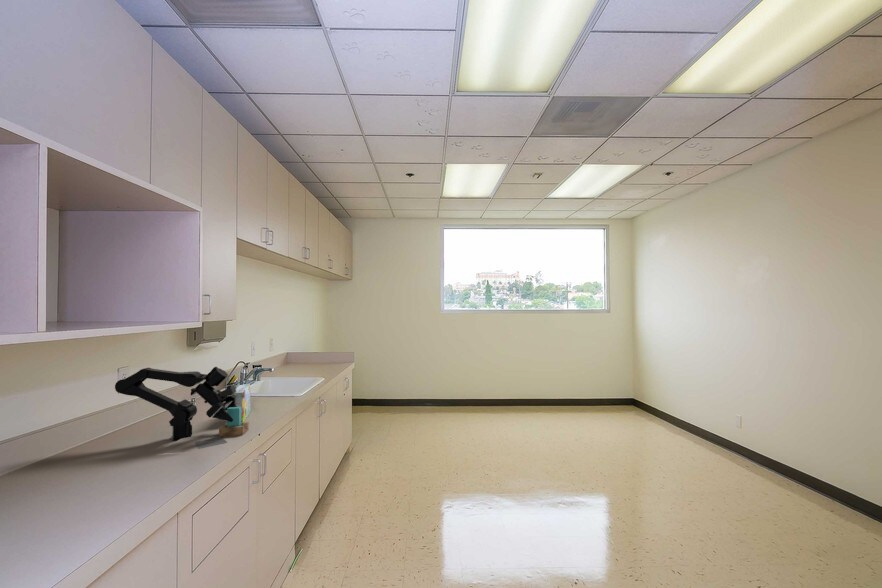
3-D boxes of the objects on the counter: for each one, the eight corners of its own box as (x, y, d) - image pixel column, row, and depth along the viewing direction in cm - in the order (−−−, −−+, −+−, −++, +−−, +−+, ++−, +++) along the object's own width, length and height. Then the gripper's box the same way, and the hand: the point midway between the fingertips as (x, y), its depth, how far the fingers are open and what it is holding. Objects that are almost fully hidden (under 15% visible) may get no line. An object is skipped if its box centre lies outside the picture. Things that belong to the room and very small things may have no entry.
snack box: (239, 413, 203) (239, 384, 204) (250, 412, 205) (251, 383, 206) (230, 424, 183) (230, 392, 184) (243, 423, 185) (243, 391, 185)
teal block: (226, 434, 167) (227, 408, 167) (229, 432, 169) (229, 407, 170) (239, 433, 168) (239, 408, 168) (241, 431, 170) (241, 406, 171)
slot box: (218, 437, 164) (219, 428, 164) (225, 432, 171) (225, 423, 171) (242, 436, 166) (242, 426, 166) (248, 431, 173) (248, 422, 173)
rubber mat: (198, 450, 150) (198, 448, 150) (194, 443, 158) (194, 442, 158) (227, 443, 157) (227, 442, 157) (221, 437, 164) (221, 436, 164)
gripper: (214, 384, 160) (242, 409, 161) (231, 376, 178) (257, 399, 179) (193, 404, 158) (222, 430, 159) (213, 394, 176) (239, 417, 178)
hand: (236, 418), depth 169 cm, fingers open, 9 cm apart
